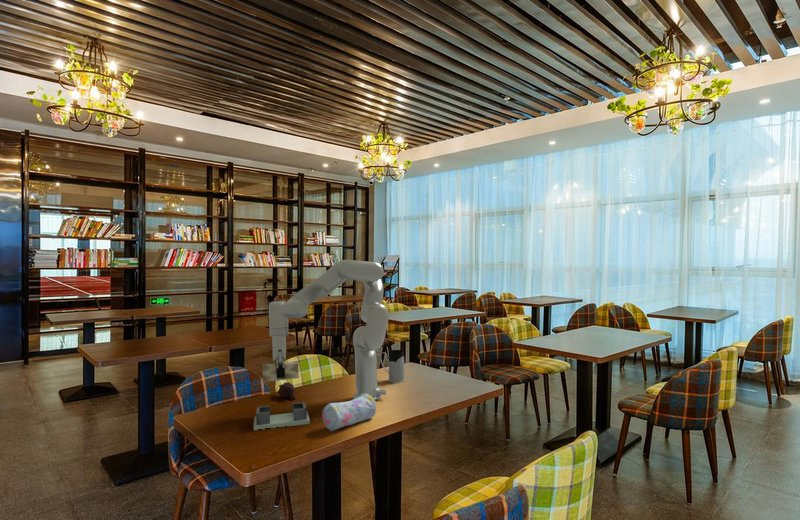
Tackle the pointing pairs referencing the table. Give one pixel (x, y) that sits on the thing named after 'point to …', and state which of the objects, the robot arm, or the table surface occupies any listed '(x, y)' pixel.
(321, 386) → the table surface
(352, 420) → the pencil case
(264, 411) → the end caps
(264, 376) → the beige long block
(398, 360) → the glass holder
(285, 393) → the icecream
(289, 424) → the base board
